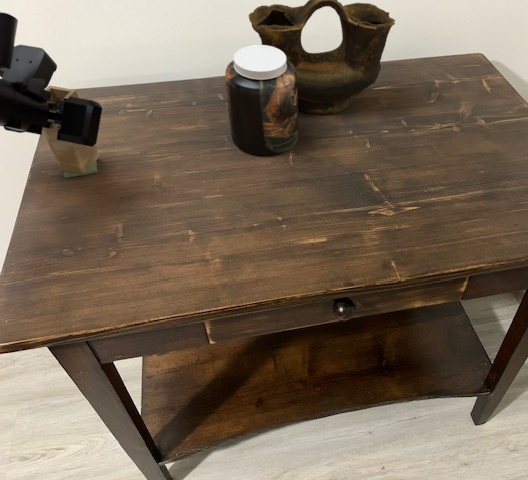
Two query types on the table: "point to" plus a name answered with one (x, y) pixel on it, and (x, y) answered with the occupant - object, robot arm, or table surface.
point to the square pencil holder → (66, 152)
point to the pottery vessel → (331, 62)
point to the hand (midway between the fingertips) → (71, 124)
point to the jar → (262, 100)
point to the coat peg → (91, 170)
